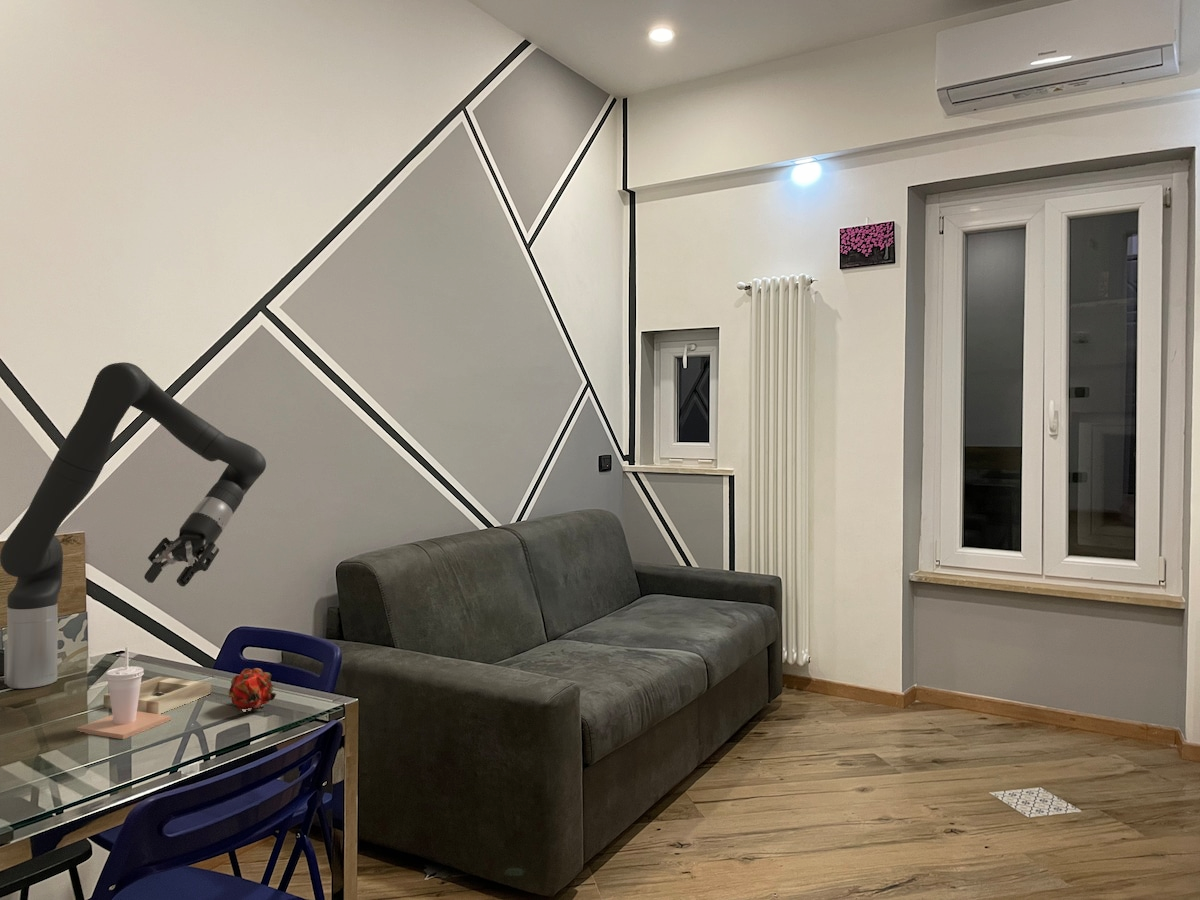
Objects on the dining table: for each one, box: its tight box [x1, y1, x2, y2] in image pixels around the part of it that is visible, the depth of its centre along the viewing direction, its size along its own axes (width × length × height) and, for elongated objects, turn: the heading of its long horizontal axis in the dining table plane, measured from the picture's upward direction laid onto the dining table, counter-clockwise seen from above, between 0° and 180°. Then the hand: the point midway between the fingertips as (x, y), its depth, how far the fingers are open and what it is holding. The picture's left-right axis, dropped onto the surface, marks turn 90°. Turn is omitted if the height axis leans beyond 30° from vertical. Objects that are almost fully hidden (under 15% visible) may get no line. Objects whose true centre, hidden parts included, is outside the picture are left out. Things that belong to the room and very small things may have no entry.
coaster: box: [76, 711, 172, 740], centre depth 163 cm, size 11×11×1 cm
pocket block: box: [103, 675, 212, 715], centre depth 178 cm, size 14×14×2 cm
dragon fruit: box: [228, 667, 277, 712], centre depth 174 cm, size 8×8×12 cm
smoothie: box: [105, 646, 145, 724], centre depth 163 cm, size 6×6×14 cm
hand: (163, 582), depth 177 cm, fingers open, 8 cm apart
